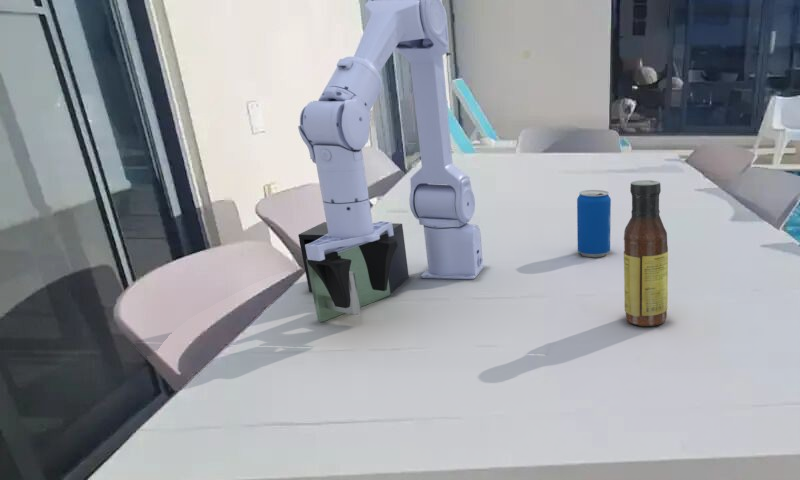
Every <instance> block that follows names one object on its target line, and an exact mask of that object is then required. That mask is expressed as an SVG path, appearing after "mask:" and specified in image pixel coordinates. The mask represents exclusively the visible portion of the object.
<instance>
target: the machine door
mask: <svg viewBox="0 0 800 480" xmlns="http://www.w3.org/2000/svg"><path fill="white" fill-rule="evenodd" d="M338 256H341V258H343V259H350V260H351V265H350V271H349V290H350V307H348V308H341V307H335V305H334V303H333V301H332V298H331V296H330V294H329V292H328V290H327V288H326V287H325V285H324V283H323V282H322V280H321V279H320V277H319V276H318V275H317V273H316V272H315V271H314V270H313V269H312V267H311V266H310V265H309V264H308V261H307V259H306V261H307V266H308V272H309V277H310V282H311V287H312V292H311V293H312V297H313V302H314V308H315V312H316V318H317V321H318V322H319V323H323V322H326V321H328V320H331V319H334V318H336V317H339V316H341V315H343V314H347V315H352V316H356V315H360V314H361V312H362V311H361V308H363V307H364V306H367V305H370V304H372V303H374V302H377V301H380V300H382V299H385V298H387V297H390V296H391V295H392V293H391V294H390V287H389V280H388V285H387V290H386V291H379V290H373V289H372V286H371V283H370V279H369V275H368V270H367V266H366V262H365V259H364V257H363V254H362V252H361V250H360V248H359V246H356V247H354V248H351V249H348V250H345V251H342V252H339V253H338Z"/></svg>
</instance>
